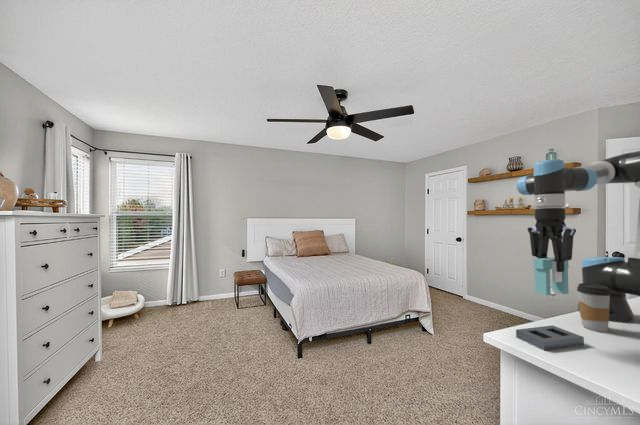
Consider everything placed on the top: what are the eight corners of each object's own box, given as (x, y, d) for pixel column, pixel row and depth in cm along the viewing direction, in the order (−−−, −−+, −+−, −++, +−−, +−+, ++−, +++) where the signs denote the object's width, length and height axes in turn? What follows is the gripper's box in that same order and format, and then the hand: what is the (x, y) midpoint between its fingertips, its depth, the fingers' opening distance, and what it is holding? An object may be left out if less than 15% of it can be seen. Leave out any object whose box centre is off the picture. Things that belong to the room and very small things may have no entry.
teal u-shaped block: (558, 290, 87) (557, 257, 87) (570, 293, 84) (569, 259, 84) (533, 292, 85) (532, 258, 86) (544, 295, 82) (543, 260, 82)
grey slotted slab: (553, 332, 89) (552, 325, 90) (584, 345, 81) (583, 337, 81) (516, 337, 87) (516, 329, 87) (544, 350, 78) (543, 342, 78)
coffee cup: (620, 334, 87) (618, 289, 88) (590, 332, 89) (588, 288, 89) (598, 324, 96) (597, 283, 96) (572, 323, 97) (570, 282, 98)
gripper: (516, 208, 92) (518, 275, 92) (567, 206, 77) (570, 287, 76) (534, 209, 94) (536, 274, 93) (588, 206, 78) (590, 286, 77)
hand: (551, 280), depth 85 cm, fingers closed on teal u-shaped block, 3 cm apart
